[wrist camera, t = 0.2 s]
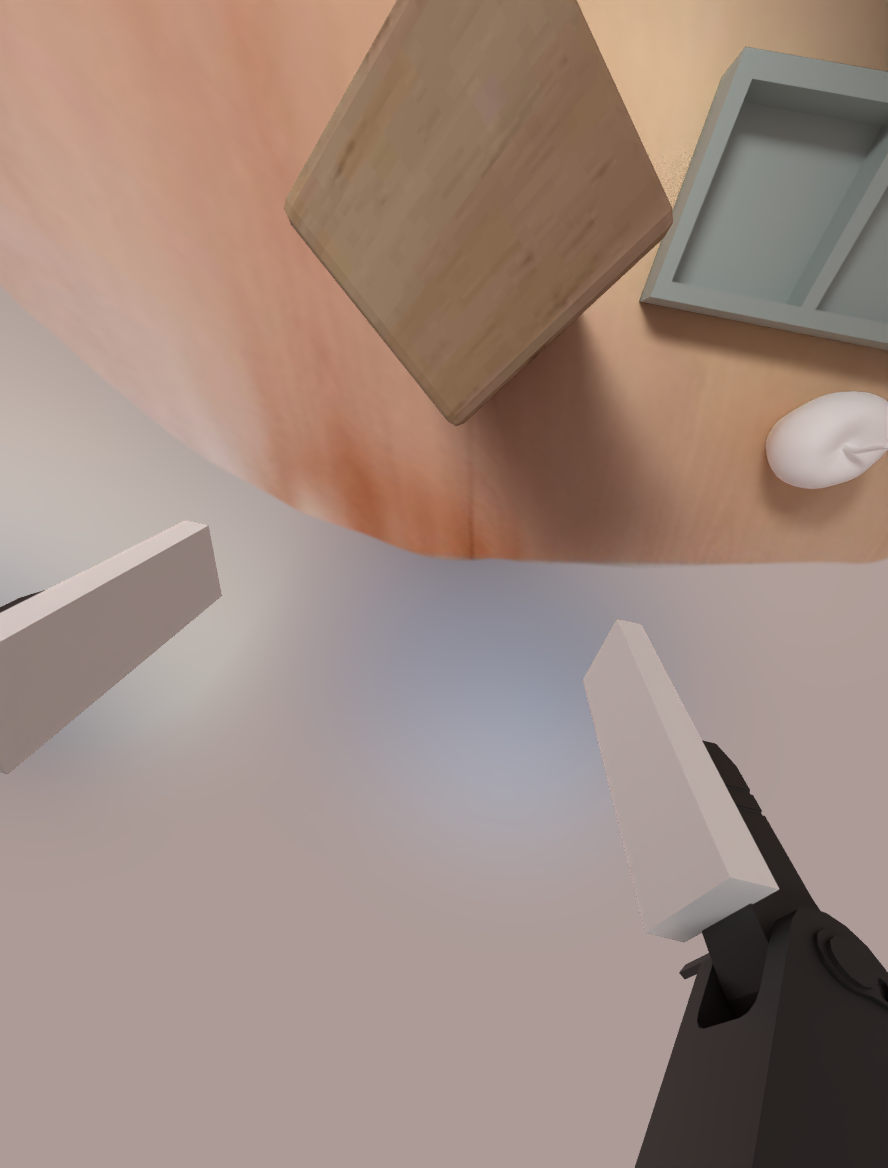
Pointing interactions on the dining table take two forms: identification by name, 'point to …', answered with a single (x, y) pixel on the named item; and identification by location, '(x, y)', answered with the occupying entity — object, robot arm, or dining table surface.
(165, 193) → the dining table surface
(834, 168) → the grey-green compartment tray
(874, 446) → the plain white apple
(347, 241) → the wooden block
